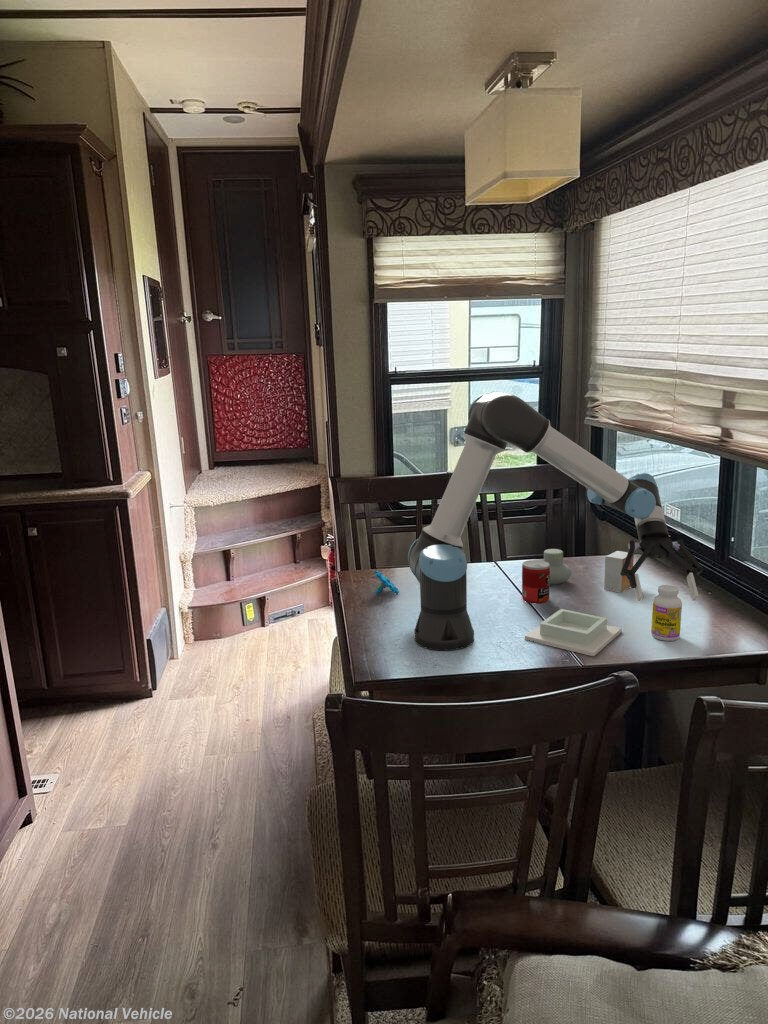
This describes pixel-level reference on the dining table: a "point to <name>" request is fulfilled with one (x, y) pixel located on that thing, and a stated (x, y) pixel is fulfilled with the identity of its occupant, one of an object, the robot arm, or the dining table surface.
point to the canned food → (535, 581)
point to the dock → (574, 632)
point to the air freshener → (557, 566)
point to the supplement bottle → (666, 614)
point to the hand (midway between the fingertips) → (667, 598)
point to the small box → (616, 572)
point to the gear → (385, 583)
